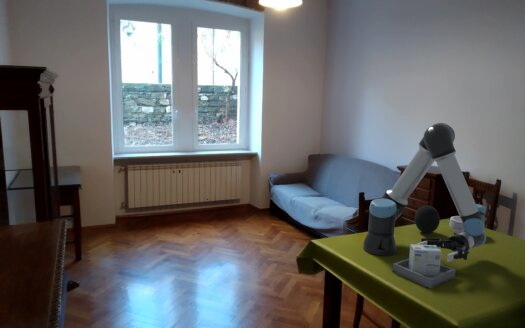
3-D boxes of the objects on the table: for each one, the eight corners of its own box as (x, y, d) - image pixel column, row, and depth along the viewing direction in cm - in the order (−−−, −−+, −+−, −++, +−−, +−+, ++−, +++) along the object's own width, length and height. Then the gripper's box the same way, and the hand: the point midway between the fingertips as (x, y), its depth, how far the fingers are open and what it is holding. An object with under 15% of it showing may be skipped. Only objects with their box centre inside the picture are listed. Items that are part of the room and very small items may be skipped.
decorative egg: (443, 235, 206) (446, 207, 204) (425, 237, 202) (427, 209, 199) (426, 227, 218) (428, 201, 215) (408, 229, 213) (410, 203, 211)
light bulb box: (433, 269, 161) (436, 244, 159) (439, 276, 154) (442, 251, 152) (407, 267, 162) (409, 243, 160) (412, 275, 155) (414, 249, 153)
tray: (392, 271, 160) (393, 263, 159) (416, 262, 170) (417, 255, 169) (430, 288, 146) (431, 279, 146) (454, 277, 156) (455, 269, 155)
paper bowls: (475, 230, 215) (477, 216, 214) (484, 240, 201) (486, 225, 199) (445, 227, 219) (447, 214, 217) (452, 237, 204) (454, 222, 203)
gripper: (489, 260, 160) (461, 272, 149) (433, 241, 181) (404, 250, 169) (491, 243, 159) (463, 253, 147) (435, 226, 179) (406, 234, 168)
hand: (432, 252), depth 158 cm, fingers open, 13 cm apart
